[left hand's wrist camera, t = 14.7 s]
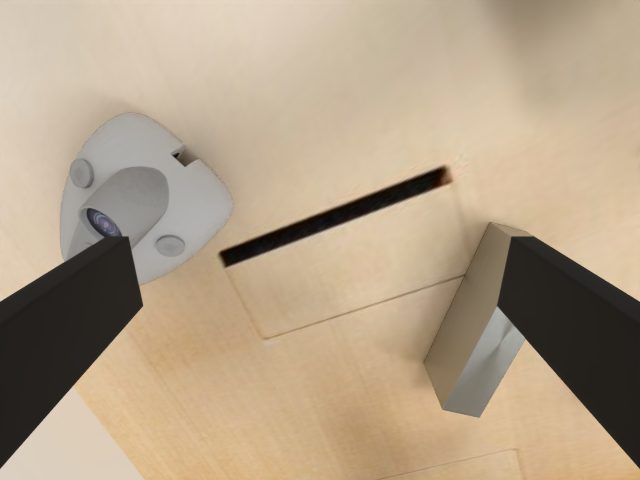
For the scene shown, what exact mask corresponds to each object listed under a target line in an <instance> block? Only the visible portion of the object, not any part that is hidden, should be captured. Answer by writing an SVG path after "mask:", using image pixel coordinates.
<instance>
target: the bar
mask: <svg viewBox="0 0 640 480" xmlns="http://www.w3.org/2000/svg"><path fill="white" fill-rule="evenodd" d="M511 236H532V235H531V234H529V233H528V232H525V231H521V230H518V229H514V228H511V227H507V226H503V225H500V224H496V223H492V222H490V224H489V226H488V228H487V230H486V232H485V234H484V236H483V238H482V241H481V243H480V245H479V247H478V249H477V251H476V253H475V255H474V257H473V260H472V262H471V264H470V266H469V268H468V270H467V272H466V274H465V277H464V279H463V281H462V283H461V285H460V287H459V289H458V291H457V293H456V296H455V298H454V300H453V302H452V304H451V306H450V308H449V310H448V313H447V315H446V317H445V319H444V321H443V323H442V325H441V327H440V330H439V332H438V334H437V336H436V338H435V340H434V342H433V344H432V346H431V349H430V351H429V353H428V355H427V357H426V359H425V361H424V365H425V368H426V370H427V373H428V375H429V378H430V380H431V383H432V385H433V388H434V390H435V393H436V395H437V398H438V400H439V403H440V405H441V408H442V410H446V411H451V412H456V413H460V414H465V415H469V416H474V417H480V416H481V414H482V412H483V411H484V409H485V407H486V406H487V404H488V402H489V400H490V399H491V397H492V395H493V394H494V392H495V390H496V388H497V387H498V385H499V383H500V382H501V380H502V378H503V376H504V375H505V373H506V371H507V370H508V368H509V366H510V364H511V363H512V361H513V359H514V357H515V356H516V354H517V352H518V351H519V349H520V347H521V345H522V344H523V342H524V340H525V337H524V336H523V335H522V334H521V333H520V332H519V331H518V329H517V328H516V327H515V326H514V325H513V324H512V323H511V322H510V320H509V319H508V318H507V317H506V316H505V315H504V314H503V312H502V311H501V310H500V309H499V308H498V307H497V302H498V298H499V293H500V288H501V283H502V279H503V274H504V269H505V264H506V259H507V255H508V250H509V245H510V240H511ZM540 241H541V240H540ZM553 249H554V248H553Z"/></svg>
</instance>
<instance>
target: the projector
mask: <svg viewBox="0 0 640 480" xmlns="http://www.w3.org/2000/svg"><path fill="white" fill-rule="evenodd" d="M185 148H186V146H185V145H184V144H183V143H182V142H181V141H180V140H178V139H177V138H176V137H175V136H174V135H173V134H172V133H170V132H169V131H168V130H167V129H165V128H164V127H163V126H162V125H160V124H159V123H157V122H156V121H154V120H152V119H151V118H149V117H146V116H144V115H141V114H137V113H124V114H120V115H118V116H115V117H114V118H112V119H110V120H109V121H107V122H106V123H105V124H103V125H102V126H101V127H100V128H99V129H98V130H97V131H96V132H94V133H93V135H92V136H91V137H90V138H89V139H88V141H87V142H86V143H85V144H84V146H83V147H82V149H81V150H80V152H79V153H78V155H77V157H76V159H75V160H74V161H73V163H72V164H71V167H70V172H69V175H68V178H67V181H66V184H65V188H64V192H63V197H62V204H61V214H60V243H61V251H62V256H63V259H64V260H65V261H67V260H69V259H70V258H72V257H74V256H75V255H77V254H78V253H80V252H82V251H83V250H85V249H87V248H88V247H90V246H91V245H93V244H95V243H96V242H98V241H100V240H101V239H103V238H104V237H106V236H129V240H130V245H131V250H132V255H133V259H134V264H135V269H136V274H137V279H138V283H139V286H140V285H142V284H145V283H148V282H150V281H153V280H155V279H157V278H159V277H161V276H163V275H165V274H167V273H169V272H171V271H172V270H174V269H176V268H177V267H179V266H180V265H181V264H183V263H184V262H186V261H187V260H188V259H190V258H191V257H192V256H193V255H195V254H196V253H197V252H198V251H199V250H200V249H201V248H203V247H204V246H205V245H206V244H207V243H208V242H209V241H210V240H211V239H212V238H213V237H214V236H215V235H216V234H217V233H218V231H219V230H220V229H221V228H222V227H223V225H224V224H225V223H226V221H227V220H228V219H229V217H230V215H231V213H232V210H233V199H232V196H231V194H230V191H229V190H228V188H227V187H226V185H225V184H224V183H223V182H222V181H221V179H220V178H219V177H218V176H217V175H216V174H215V173H214V172H213V171H212V170H211V169H210V168H209V167H208V166H207V165H206V164H205V163H204V162H202V161H201V160H200V159H197V160H195V161H193V162H192V163H190V164H189V165H187V166H186V167H184V166H183V165H182V164H181V163H180V162H179V161H178V160H177V159H178V158H179V157H180V156H181V155H182V153H183V152H184V150H185Z"/></svg>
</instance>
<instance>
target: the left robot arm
mask: <svg viewBox="0 0 640 480" xmlns="http://www.w3.org/2000/svg"><path fill="white" fill-rule="evenodd" d="M142 307H143V302H142V298H141V293H140V288H139V283H138V279H137V274H136V269H135V264H134V259H133V255H132V250H131V245H130V240H129V236H106V237H104V238H103V239H101V240H100V241H98V242H96V243H95V244H93V245H91V246H90V247H88V248H87V249H85V250H83V251H82V252H80V253H78V254H77V255H75V256H74V257H72V258H70V259H69V260H67V261H65V262H64V263H62V264H61V265H59V266H57V267H56V268H54V269H53V270H51V271H49V272H48V273H46V274H44V275H43V276H41V277H40V278H38V279H36V280H35V281H33V282H31V283H30V284H28V285H27V286H25V287H23V288H22V289H20V290H18V291H17V292H15V293H14V294H12V295H10V296H9V297H7V298H5V299H4V300H2V301H1V302H0V468H1V467H2V466H3V465H4V464H5V463H6V462H7V460H8V459H9V458H10V457H11V456H12V455H13V454H14V452H15V451H16V450H17V449H18V448H19V447H20V446H21V445H22V443H23V442H24V441H25V440H26V439H27V438H28V437H29V435H30V434H31V433H32V432H33V431H34V430H35V429H36V427H37V426H38V425H39V424H40V423H41V422H42V421H43V419H44V418H45V417H46V416H47V415H48V414H49V413H50V411H51V410H52V409H53V408H54V407H55V406H56V405H57V403H58V402H59V401H60V400H61V399H62V398H63V397H64V395H65V394H66V393H67V392H68V391H69V390H70V389H71V388H72V386H73V385H74V384H75V383H76V382H77V381H78V380H79V378H80V377H81V376H82V375H83V374H84V373H85V372H86V370H87V369H88V368H89V367H90V366H91V365H92V364H93V363H94V361H95V360H96V359H97V358H98V357H99V356H100V355H101V353H102V352H103V351H104V350H105V349H106V348H107V347H108V345H109V344H110V343H111V342H112V341H113V340H114V339H115V337H116V336H117V335H118V334H119V333H120V332H121V331H122V329H123V328H124V327H125V326H126V325H127V324H128V323H129V322H130V320H131V319H132V318H133V317H134V316H135V315H136V314H137V312H138V311H139V310H140V309H141V308H142ZM497 307H498V308H499V309H500V310H501V311H502V312H503V314H504V315H505V316H506V317H507V318H508V319H509V320H510V322H511V323H512V324H513V325H514V326H515V327H516V328H517V329H518V331H519V332H520V333H521V334H522V335H523V336H524V337H525V339H526V340H527V341H528V342H529V343H530V344H531V345H532V347H533V348H534V349H535V350H536V351H537V352H538V353H539V355H540V356H541V357H542V358H543V359H544V360H545V361H546V363H547V364H548V365H549V366H550V367H551V368H552V369H553V370H554V372H555V373H556V374H557V375H558V376H559V377H560V378H561V380H562V381H563V382H564V383H565V384H566V385H567V386H568V388H569V389H570V390H571V391H572V392H573V393H574V394H575V396H576V397H577V398H578V399H579V400H580V401H581V402H582V404H583V405H584V406H585V407H586V408H587V409H588V410H589V411H590V413H591V414H592V415H593V416H594V417H595V418H596V419H597V421H598V422H599V423H600V424H601V425H602V426H603V427H604V429H605V430H606V431H607V432H608V433H609V434H610V435H611V437H612V438H613V439H614V440H615V441H616V442H617V443H618V445H619V446H620V447H621V448H622V449H623V450H624V451H625V453H626V454H627V455H628V456H629V457H630V458H631V459H632V460H633V462H634V463H635V464H636V465H637V466H638V467H639V468H640V302H639V301H638V300H636V299H635V298H633V297H631V296H630V295H628V294H626V293H625V292H623V291H622V290H620V289H618V288H617V287H615V286H613V285H612V284H610V283H609V282H607V281H605V280H604V279H602V278H600V277H599V276H597V275H596V274H594V273H592V272H591V271H589V270H587V269H586V268H584V267H583V266H581V265H579V264H578V263H576V262H575V261H573V260H571V259H570V258H568V257H566V256H565V255H563V254H562V253H560V252H558V251H557V250H555V249H553V248H552V247H550V246H549V245H547V244H545V243H544V242H542V241H540V240H539V239H537V238H536V237H534V236H511V240H510V245H509V250H508V255H507V259H506V264H505V269H504V274H503V279H502V283H501V288H500V293H499V298H498V302H497Z"/></svg>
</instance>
